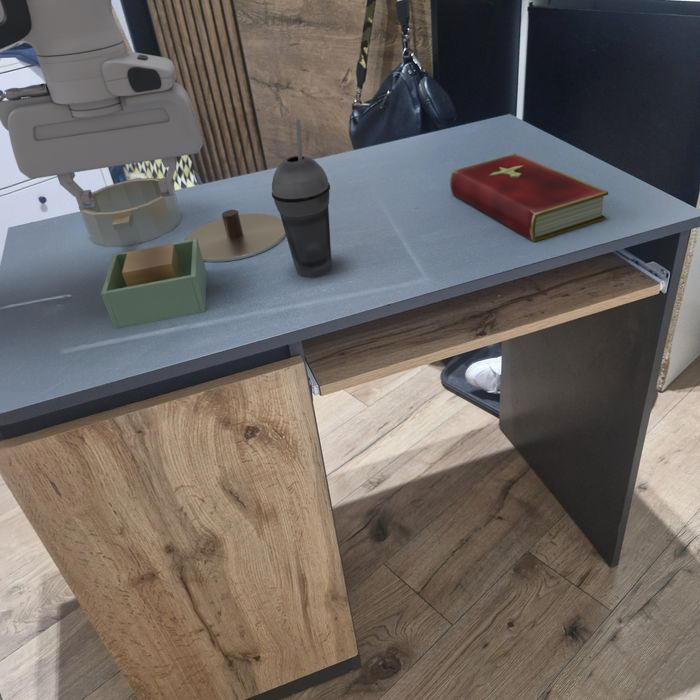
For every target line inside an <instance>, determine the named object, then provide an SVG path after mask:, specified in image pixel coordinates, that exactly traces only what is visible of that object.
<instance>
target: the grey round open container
mask: <svg viewBox="0 0 700 700" xmlns="http://www.w3.org/2000/svg"><path fill="white" fill-rule="evenodd" d="M159 179H160V178H159V177H146V178H145V177H144V178H143V177H142V178H141V177H138V178H132V179H131V178H130V179H126V180H124V181H123V180H122V181H120V182H116V183H113V184H110V185H106V186H103V187H101V188H99V189H97V190H94V191H91V192H92V198H94V201H95V206H94V208H90V209H85V210H80V208H79V207H78V210H79V213H80V214H81V217H82V220H83V223H84V226H85V228H86V231H87V234H88V236H89V239H90V240H91V241H92V243H94V245H98V246H101V247H105V248H116V247H117V248H118V247H119V248H120V247H121V248H122V247H127V246H133V245H139V244H143V243H146V242H149V241H152V240H155V239H158V238H161V237H162V236H165V235H166V234H168V233H170V232H172V231H173V230H174V229H175V228H176V227H177V226H178V225H179V224H181V222H182V212H181V209H180V205H179V201H178V198H177V195H176V193H175V195H172V196H166V197H162V195H161V190H160V188H159V185H158V182H159Z"/></svg>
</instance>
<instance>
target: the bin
mask: <svg viewBox="0 0 700 700" xmlns="http://www.w3.org/2000/svg"><path fill="white" fill-rule="evenodd" d="M173 243H174V245H175V249H176V252H177V255H178V259H179V262H180V265H181V269H182V272H183V275H184V276H183V277H178V278H172V279H167V280H162V281H156V282H151V283H146V284H141V285H135V286H130V287H127V285H126V282H125V280H124V277H123V274H122V271H123V267H124V263H125V259H126V255H127V252H130V251H131V250H128V251H122V252H117V253H113V254H112V256H111V260H110V263H109V266H108V269H107V273H106V276H105V280H104V283H103V285H102V289H101V292H100V293H101V294H100V295H101V298H102V301H103V302H104V305H105V308H106V310H107V313H108V316H109V318H110V320H111V321H110V322H111V323H112V326H113V327H114V328H113V329H115V330H117V329H122V328H127V327H132V326H138V325H142V324H147V323H152V322H158V321H163V320H168V319H174V318H179V317H184V316H188V315H194V314H200V313H204V312H205V313H206V312H207V269H206V265H205V261H203V258H202V254H201V250H200V247H199V243H198V240H197V239H193V240H187V241H185V240H183V241H176V242H172V243H171V242H170V244H173ZM168 244H169V243H166V244H164V245H168ZM162 245H163V244H160V245H159V246H162ZM157 246H158V245H155V246H153V247H157ZM151 247H152V246H150V247H149V246H148V248H151ZM146 248H147V247H145V248H143V249H146ZM141 249H142V248H140V249H137V250H141ZM135 250H136V249H134V250H132V251H135Z"/></svg>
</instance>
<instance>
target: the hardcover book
mask: <svg viewBox="0 0 700 700" xmlns="http://www.w3.org/2000/svg"><path fill="white" fill-rule="evenodd" d="M449 179H450V180H449V185H450V186H449V187H450V192H451V194H452V196H454V197H455V198H457V199H459V200H461V201H462V202H464V203H466V204H468V205H469V206H471V207H472V208H474V207H475V209H476V210H478V211H479V212H481V213H483V214H485V215H486V216H488V217H490V218H492V219H493V220H495V221H497V222H499V223H500V224H502V225H504V226H505V227H507V228H509V229H511V230H512V231H514V232H516V233H518V234H519V235H521V236H523V237H524V238H527V239H528V240H530V241H532V242H534V243H537V242H539V241H542V240H545V239H548V238H552V237H556V236H559V235H562V234H565V233H567V232H568V233H569V232H571V231H573V230H576V229H579V228H584V227H586V226H588V225H589V226H590V225H593V224H595V223H599V222H601V221H604V220H606V216H605V215H603V214H602V213H603V206H604V205H603V204H604V197H606V196H609V192H608V191H607V190H606V189H605V190H604V189H602V188H599V187H597V186H595V185H592V184H591V183H588V182H585V181H583V180H580V179H578V178H576V177H573V176H571V175H569V174H566V173H563V172H561V171H560V170H556V169H554V168H552V167H549V166H546V165H544V164H543V163H541V162H540V163H539V162H537V161H535V160H532V159H530V158H528V157H525V156H523V155H521V154H518V153H516V152H515V153H511V154H508V155H504V156H501V157H498V158H494V159H490V160H487V161H482V162H479V163H475V164H472V165H469V166H465V167H461V168H457V169H454V170H451V172H450V178H449Z"/></svg>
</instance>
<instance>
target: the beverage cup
mask: <svg viewBox="0 0 700 700" xmlns="http://www.w3.org/2000/svg"><path fill="white" fill-rule="evenodd" d="M301 126H302V125H301V119H296V120H295V127H296V145H297V146H296V147H297V155H294V156H291V157H288V158H286V159H284V160H283V161H282V162H281V163H280V164H279V165H277V167H276V169H275V171H274V173H273V177H272V180H271V181H272V182H271V197H272V199H273V200H274V205H275V206H276V210H277V212H278V213H279V216H280V219H281V220H282V223H283V227H284V230H285V234H286V235H285V237H286V241H287V244H288V247H289V251H290V254H291V259H292V262H293V265H294V268H295V270H296V272H297V274H298V276H299V277H301V278H306V279H307V278H308V279H312V278H313V279H314V278H319V277H322V276H325V275H326V274H328V273H329V272H330V271H331V269H332V247H331V246H332V245H331V230H330V212H329V211H330V209H329V205H330V190H331V184H330V183H329V180H328V176H327V173H326V171H325V170H324V168H323V167H322V166H321V165H320V164H319V163H318V162H317V161H316V160H314V159H313V158H311V157H308V156H305V155H303V144H302V128H301Z"/></svg>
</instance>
